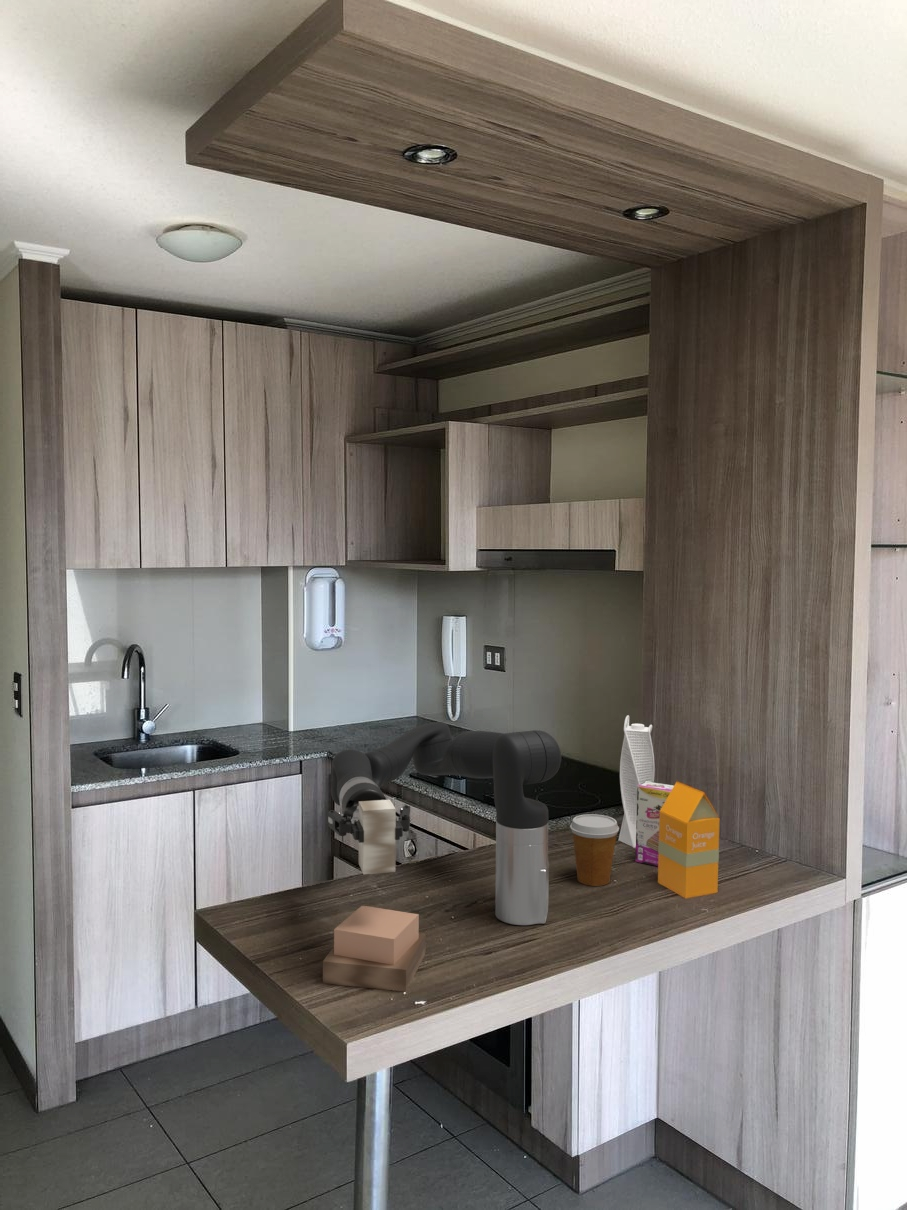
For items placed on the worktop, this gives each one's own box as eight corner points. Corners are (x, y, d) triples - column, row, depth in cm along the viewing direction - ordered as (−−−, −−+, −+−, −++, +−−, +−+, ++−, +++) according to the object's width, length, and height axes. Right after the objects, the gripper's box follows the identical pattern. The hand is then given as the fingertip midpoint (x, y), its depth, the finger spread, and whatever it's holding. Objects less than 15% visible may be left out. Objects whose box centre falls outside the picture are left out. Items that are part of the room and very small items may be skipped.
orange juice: (685, 898, 178) (687, 794, 176) (656, 882, 186) (659, 782, 184) (718, 892, 181) (721, 789, 179) (689, 876, 189) (692, 778, 187)
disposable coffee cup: (586, 868, 194) (587, 810, 193) (627, 879, 187) (628, 820, 186) (559, 880, 186) (560, 821, 185) (601, 893, 180) (602, 831, 179)
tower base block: (425, 957, 154) (425, 933, 154) (405, 995, 141) (406, 969, 141) (348, 949, 157) (348, 926, 156) (322, 986, 144) (322, 961, 144)
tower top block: (418, 938, 152) (418, 914, 152) (393, 965, 143) (393, 939, 142) (361, 929, 155) (362, 905, 155) (334, 954, 146) (334, 929, 146)
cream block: (389, 860, 152) (389, 799, 151) (395, 871, 147) (395, 808, 146) (358, 863, 150) (358, 801, 150) (363, 874, 146) (363, 810, 145)
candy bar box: (634, 862, 197) (635, 785, 196) (643, 855, 201) (644, 780, 200) (686, 873, 191) (688, 793, 190) (694, 866, 195) (696, 788, 194)
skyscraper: (610, 839, 212) (612, 715, 209) (637, 834, 215) (639, 712, 213) (632, 850, 205) (635, 722, 202) (659, 845, 208) (662, 719, 206)
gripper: (404, 822, 164) (425, 855, 148) (321, 827, 161) (332, 862, 144) (404, 779, 163) (425, 808, 147) (320, 784, 160) (332, 814, 143)
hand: (379, 835), depth 146 cm, fingers closed on cream block, 5 cm apart
